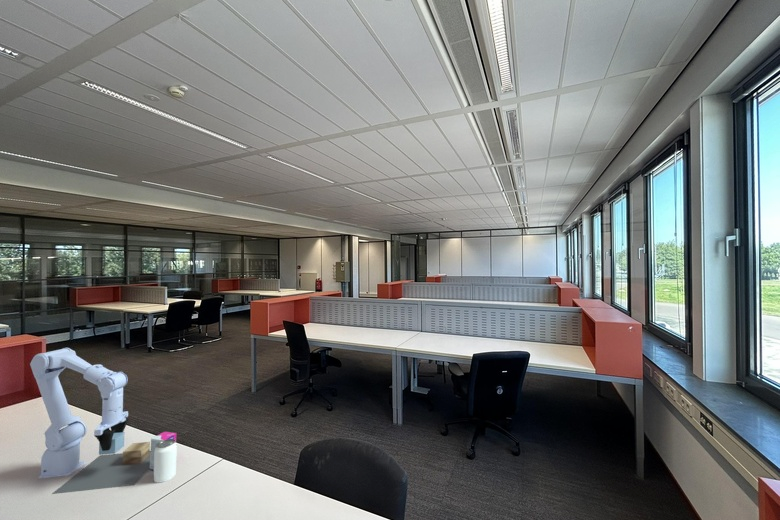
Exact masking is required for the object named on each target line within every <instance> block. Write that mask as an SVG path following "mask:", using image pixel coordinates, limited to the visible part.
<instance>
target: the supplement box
mask: <svg viewBox="0 0 780 520" xmlns="http://www.w3.org/2000/svg"><path fill="white" fill-rule="evenodd" d="M167 439H174V440H175V443H176V444H177V432H170V431H163V432H161V433H159V434H158V435H155V436H154V437H152V438H151V439H150V469H149V470H150V471H154V451H155V448H156V445H157V444H158V443H159V442H161V441H163V440H167Z"/></svg>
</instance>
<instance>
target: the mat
mask: <svg viewBox="0 0 780 520" xmlns="http://www.w3.org/2000/svg"><path fill="white" fill-rule="evenodd" d="M149 470H150V455H149V456H148V457H147V458H146V459H145V460H144V461H143V462H142V463H141V464H133V465H123V452H122V453H115V454H103V455H99V456H97V457H96V458H95V459H93V460H92V461H91V462H90V463H88V464H87V465H85V467H84V468H82V469H81V470H79V471H78V472H77V473H76V474H74V475H73V476H72V477H71V478H69V479H68V480H67V481H65V482H64V483H63V484H62V485H61V486H60V487H58V488H57V489H55V490H54V491H53V492H52V493H51V495H54V494H55V495H56V494H65V493H74V492H84V491H92V490H103V489H111V488H121V487H130V486H135V485H136V484H137V483H138V482H139V481H140V480H141V478H142V477H143V476H145V474H147V472H148V471H149Z"/></svg>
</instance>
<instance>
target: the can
mask: <svg viewBox="0 0 780 520" xmlns="http://www.w3.org/2000/svg"><path fill="white" fill-rule="evenodd" d="M177 445H178V444H177V442H176V443H175V440H174V439H167V440H163V441H161V442H159V443H158V444H157V445H156V448H155V451H154V470H153V482H154V483H164V482H167V481H170V480H172V479H173V478H174V477H175V476H176V474H177V448H178V447H177Z"/></svg>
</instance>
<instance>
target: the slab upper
mask: <svg viewBox="0 0 780 520" xmlns="http://www.w3.org/2000/svg"><path fill="white" fill-rule="evenodd" d="M148 449H150V450H151V441H144V442H133V443H132V444H130V445H129V446H128V447H127V448H126V449H124V450H123V451H122V453H123V459H125V458H135V457H141V456H142V455H143V454H144V453H145V452H146V451H147V450H148Z"/></svg>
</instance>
